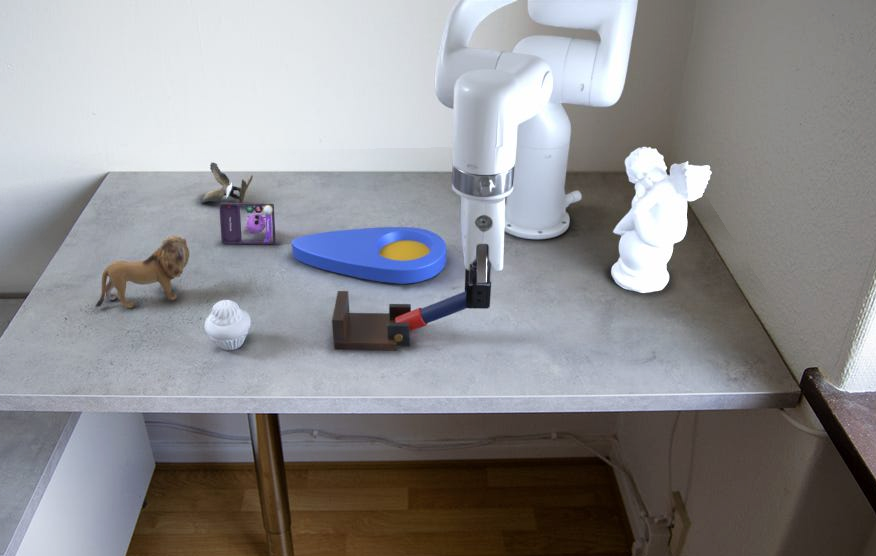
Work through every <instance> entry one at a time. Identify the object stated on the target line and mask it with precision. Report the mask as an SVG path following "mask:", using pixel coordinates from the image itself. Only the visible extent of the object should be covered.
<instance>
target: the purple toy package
mask: <svg viewBox="0 0 876 556" xmlns="http://www.w3.org/2000/svg"><path fill="white" fill-rule="evenodd" d="M218 206H219V207H218V209H219V224H220V239H221V240H220V241H221V244H223V245H224V244H226V245H228V244H229V245H275V244H276V243H277V242H276V221H275V220H276V218H275V217H276V216H275V204H274V203H258V202H257V203H254V202H252V203H251V202H250V203H249V202H247V203H245V202H243V203H240V202H220V203H219V204H218ZM241 206H242V207H245V208H244V209H245V211H246V213H247V214H250V215H246V217H247V218H246V219H245V221H246V223H245V228H246V229H244V231H245V232H249V233H250V234H253V235H256V234H257V235H258V234H260V233H262V232H263V231H265V237H264V239H263V241H262V240H261V241H260V240H259V241H258V240H253V241H251V240H243V239H242V220H241V218H242V217H241ZM254 212H255V213H254ZM262 212H263V213H262ZM263 214H264V215H265V216H263ZM270 239H272V241H269V240H270Z"/></svg>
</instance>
